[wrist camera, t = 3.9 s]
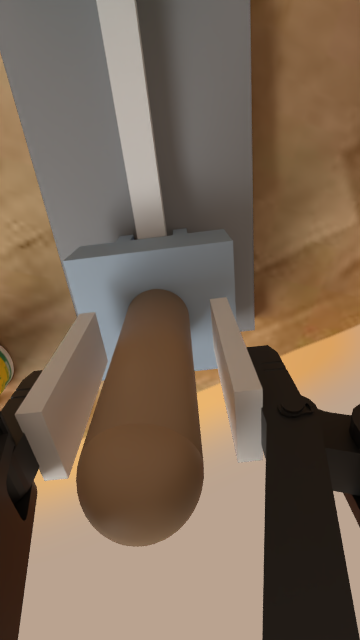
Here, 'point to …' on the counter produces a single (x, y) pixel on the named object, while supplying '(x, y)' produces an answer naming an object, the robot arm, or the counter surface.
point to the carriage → (148, 376)
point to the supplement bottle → (5, 369)
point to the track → (181, 120)
